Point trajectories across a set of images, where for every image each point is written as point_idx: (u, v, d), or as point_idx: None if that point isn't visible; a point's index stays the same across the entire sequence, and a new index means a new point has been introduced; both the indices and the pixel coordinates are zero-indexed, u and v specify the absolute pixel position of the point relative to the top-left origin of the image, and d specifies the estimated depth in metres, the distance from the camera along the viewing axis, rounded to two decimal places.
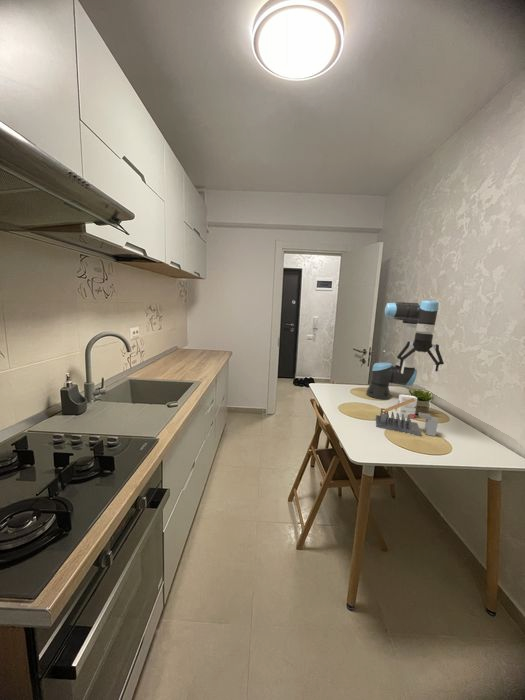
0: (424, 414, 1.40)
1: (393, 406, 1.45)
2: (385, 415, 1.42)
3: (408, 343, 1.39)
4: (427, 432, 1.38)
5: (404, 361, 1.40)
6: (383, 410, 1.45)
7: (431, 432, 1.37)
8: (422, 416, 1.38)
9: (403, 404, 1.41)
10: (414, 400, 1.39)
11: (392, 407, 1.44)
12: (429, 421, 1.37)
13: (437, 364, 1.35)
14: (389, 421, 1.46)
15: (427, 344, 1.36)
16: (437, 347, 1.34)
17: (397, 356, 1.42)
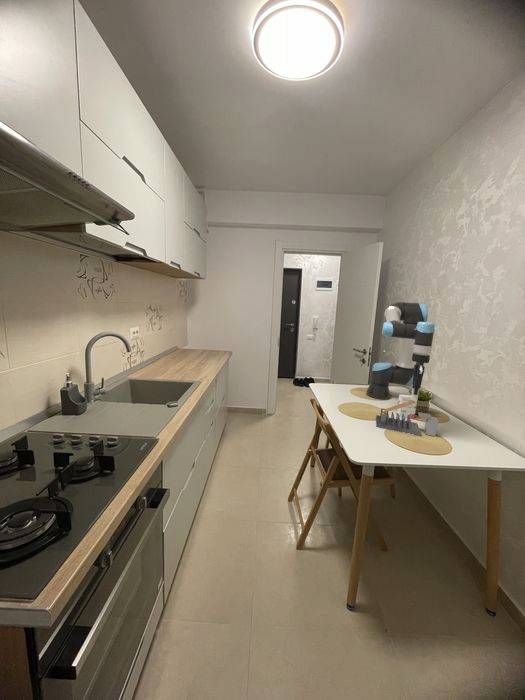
0: (424, 414, 1.40)
1: (393, 407, 1.45)
2: (385, 415, 1.42)
3: None
4: (427, 432, 1.38)
5: None
6: (383, 410, 1.45)
7: (431, 432, 1.37)
8: (422, 416, 1.38)
9: (404, 405, 1.41)
10: (415, 402, 1.39)
11: (392, 408, 1.44)
12: (429, 421, 1.37)
13: (412, 386, 1.39)
14: (389, 421, 1.46)
15: (418, 363, 1.35)
16: (417, 372, 1.33)
17: None
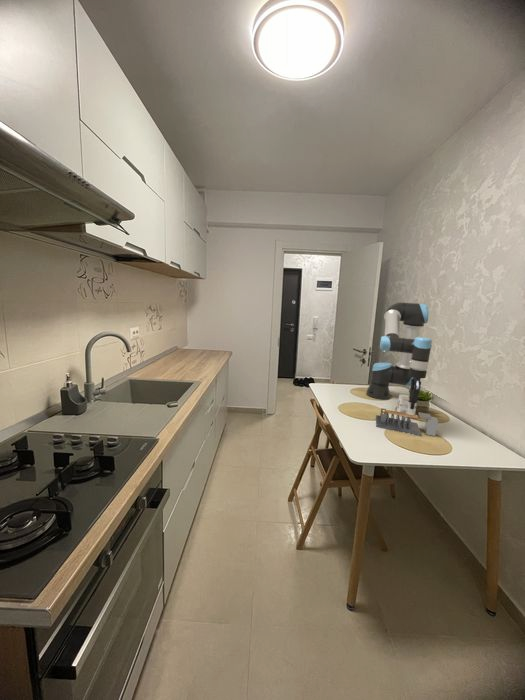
0: (424, 414, 1.40)
1: (395, 411, 1.45)
2: (385, 415, 1.42)
3: None
4: (427, 432, 1.38)
5: (409, 401, 1.41)
6: (384, 410, 1.45)
7: (431, 432, 1.37)
8: (422, 416, 1.38)
9: (405, 415, 1.41)
10: (417, 417, 1.39)
11: (393, 412, 1.44)
12: (429, 421, 1.37)
13: None
14: (389, 421, 1.46)
15: (414, 378, 1.37)
16: (414, 387, 1.35)
17: None
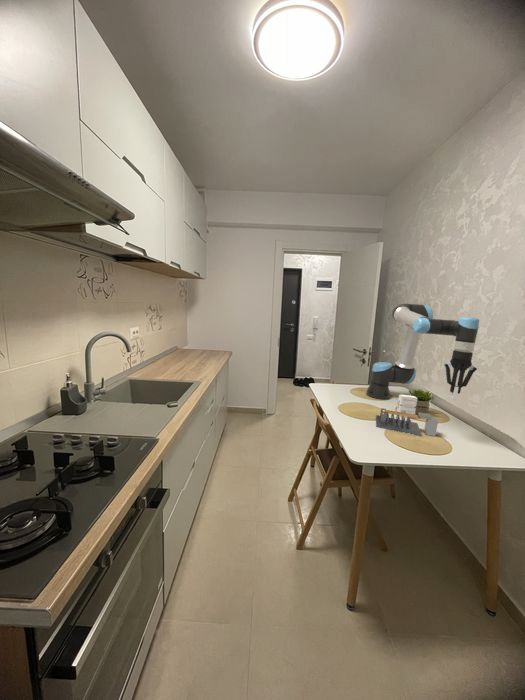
0: (424, 414, 1.40)
1: (395, 411, 1.45)
2: (385, 415, 1.42)
3: (447, 366, 1.32)
4: (427, 432, 1.38)
5: (456, 387, 1.32)
6: (384, 410, 1.45)
7: (431, 432, 1.37)
8: (422, 416, 1.38)
9: (405, 415, 1.41)
10: (417, 417, 1.39)
11: (393, 412, 1.44)
12: (429, 421, 1.37)
13: (459, 386, 1.31)
14: (389, 421, 1.46)
15: (468, 361, 1.29)
16: (474, 370, 1.29)
17: (447, 382, 1.34)
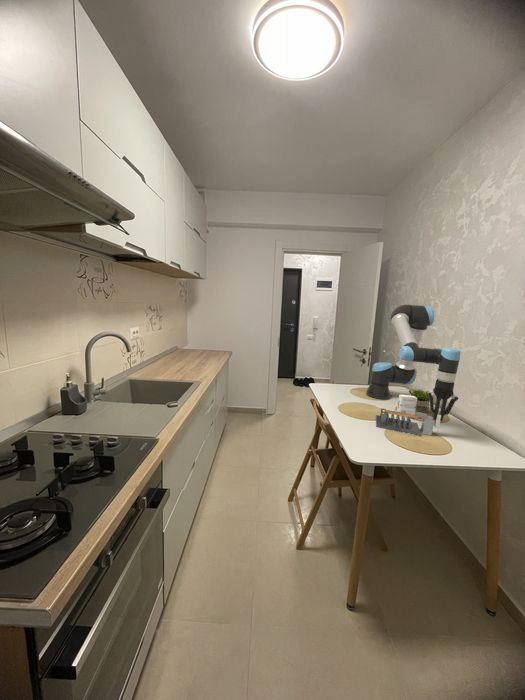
0: (420, 413, 1.40)
1: (395, 411, 1.45)
2: (385, 415, 1.42)
3: (430, 394, 1.37)
4: (423, 431, 1.39)
5: (438, 415, 1.36)
6: (384, 410, 1.45)
7: (428, 432, 1.38)
8: (418, 415, 1.39)
9: (405, 415, 1.41)
10: (417, 417, 1.39)
11: (393, 412, 1.44)
12: (425, 420, 1.38)
13: (442, 414, 1.35)
14: (389, 421, 1.46)
15: (450, 391, 1.33)
16: (455, 399, 1.33)
17: None
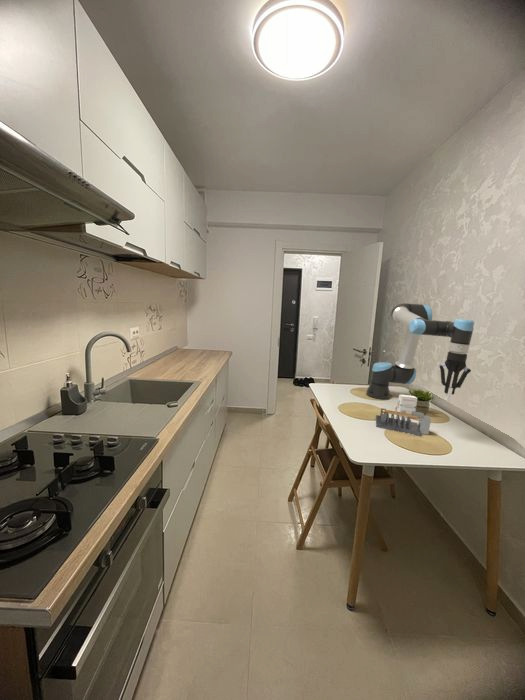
0: (417, 413, 1.41)
1: (395, 411, 1.45)
2: (385, 415, 1.42)
3: (441, 367, 1.33)
4: None
5: (450, 388, 1.33)
6: (384, 410, 1.45)
7: (424, 431, 1.38)
8: (415, 415, 1.39)
9: (405, 415, 1.41)
10: (417, 417, 1.39)
11: (393, 412, 1.44)
12: (422, 420, 1.38)
13: (454, 387, 1.32)
14: (389, 421, 1.46)
15: (462, 363, 1.30)
16: (468, 371, 1.30)
17: (442, 383, 1.35)
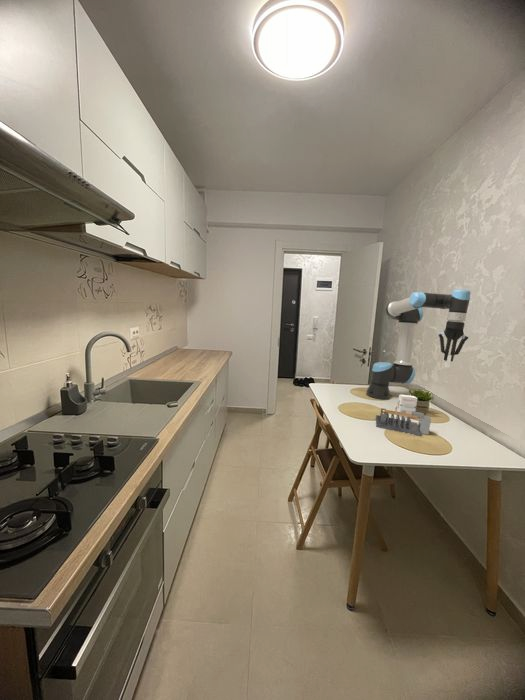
0: (417, 413, 1.41)
1: (395, 411, 1.45)
2: (385, 415, 1.42)
3: (440, 335, 1.43)
4: None
5: (449, 355, 1.42)
6: (384, 410, 1.45)
7: (424, 431, 1.38)
8: (415, 415, 1.39)
9: (405, 415, 1.41)
10: (417, 417, 1.39)
11: (393, 412, 1.44)
12: (422, 420, 1.38)
13: (452, 354, 1.42)
14: (389, 421, 1.46)
15: (460, 331, 1.40)
16: (465, 339, 1.39)
17: (441, 351, 1.45)
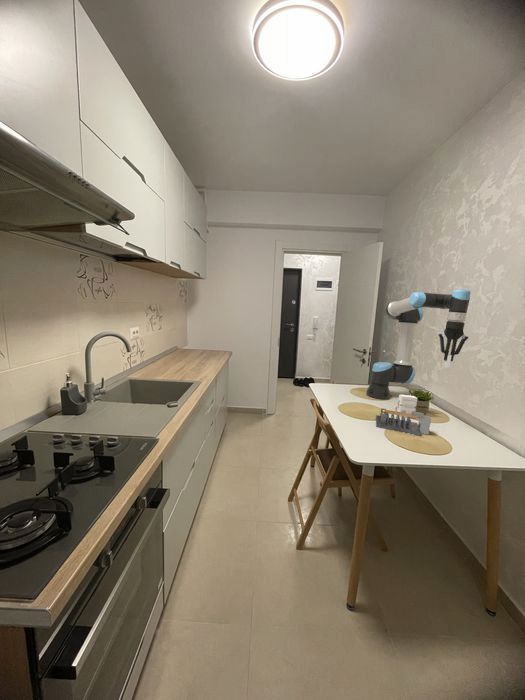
0: (417, 413, 1.41)
1: (395, 411, 1.45)
2: (385, 415, 1.42)
3: (441, 335, 1.43)
4: None
5: (449, 355, 1.43)
6: (384, 410, 1.45)
7: (424, 431, 1.38)
8: (415, 415, 1.39)
9: (405, 415, 1.41)
10: (417, 417, 1.39)
11: (393, 412, 1.44)
12: (422, 420, 1.38)
13: (452, 354, 1.42)
14: (389, 421, 1.46)
15: (460, 331, 1.40)
16: (465, 338, 1.39)
17: (441, 351, 1.45)
